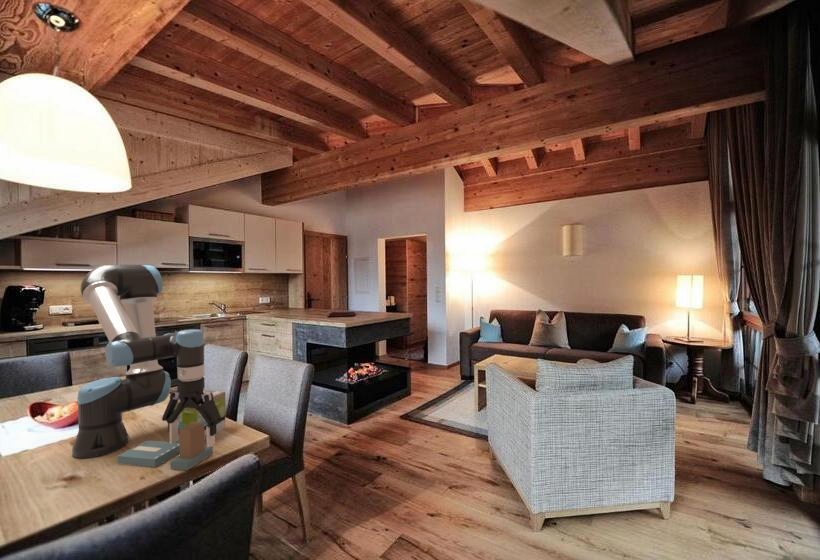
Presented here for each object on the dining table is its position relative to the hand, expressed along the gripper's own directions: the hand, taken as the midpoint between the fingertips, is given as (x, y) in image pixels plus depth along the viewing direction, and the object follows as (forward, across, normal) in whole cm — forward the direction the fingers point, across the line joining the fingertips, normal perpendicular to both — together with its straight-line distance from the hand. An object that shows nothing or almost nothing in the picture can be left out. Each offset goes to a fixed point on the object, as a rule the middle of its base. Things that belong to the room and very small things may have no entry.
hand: (192, 443), depth 119 cm
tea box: (+6, -12, +18) cm, 22 cm away
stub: (+6, 0, 0) cm, 6 cm away
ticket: (+6, -16, 0) cm, 17 cm away
